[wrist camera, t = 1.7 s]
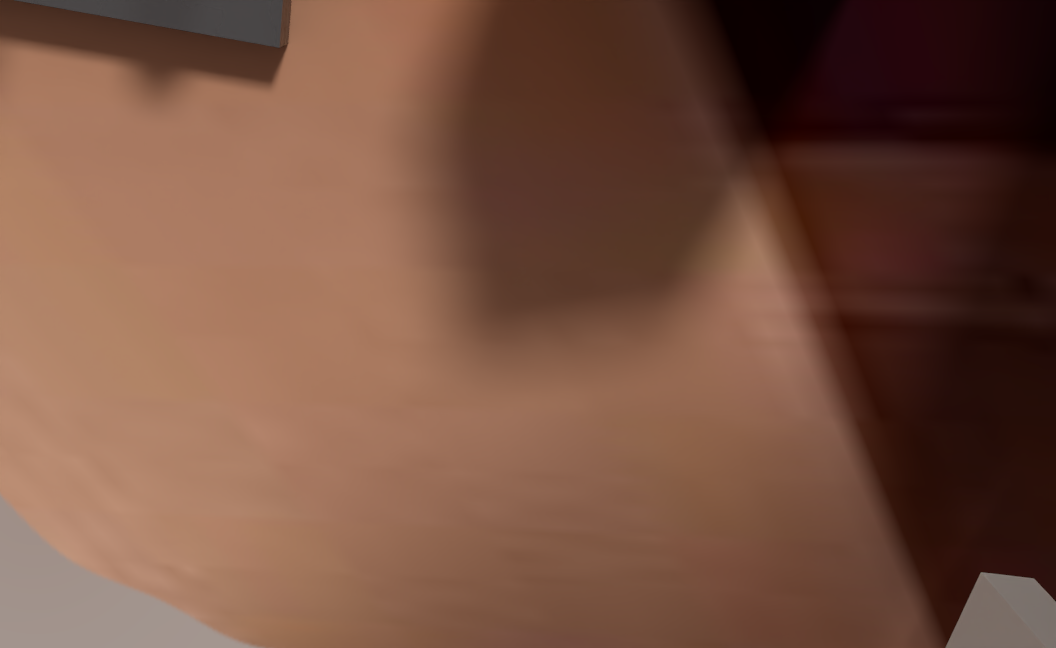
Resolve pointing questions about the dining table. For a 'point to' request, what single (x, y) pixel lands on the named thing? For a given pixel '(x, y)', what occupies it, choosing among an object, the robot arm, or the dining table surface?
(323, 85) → the dining table surface
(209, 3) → the plate
